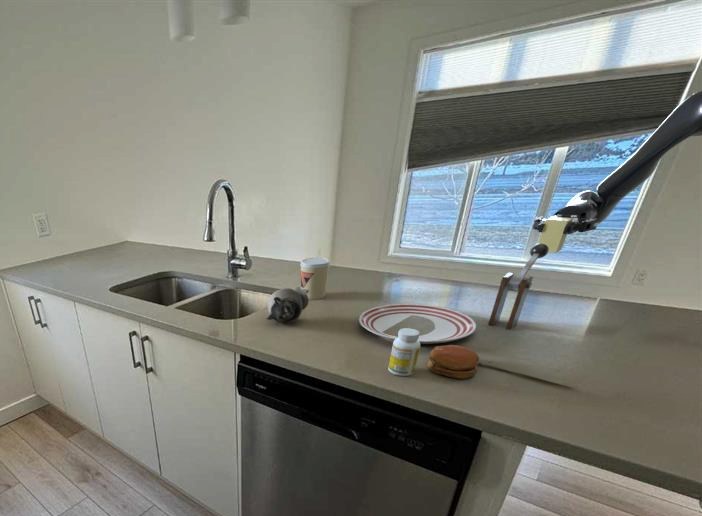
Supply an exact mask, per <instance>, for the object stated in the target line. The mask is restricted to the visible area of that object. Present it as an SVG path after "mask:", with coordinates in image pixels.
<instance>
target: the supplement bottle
mask: <svg viewBox="0 0 702 516" xmlns="http://www.w3.org/2000/svg"><path fill="white" fill-rule="evenodd" d="M419 336H420V331H419V330H417V329H414V328H409V327H404V328H400V329H399V330H398V333H397V337H398V338H396V339H395V340H393V342H392V347H391V350H390V357H389V363H388V367H387V369H388V371H389V373H391V374H393V375H395V376H399V377H408V376H411V375H413V374H414V373H415V371H416V366H417V363H418V362H417V361H418V357H419V353H420V350H421V344H420V342H419V341H418V338H419Z"/></svg>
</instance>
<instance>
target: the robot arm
mask: <svg viewBox="0 0 702 516" xmlns="http://www.w3.org/2000/svg"><path fill="white" fill-rule="evenodd" d="M699 136H702V90H699V91H697V92H693V94H691V95H689V96H688V97H687V98H686V99H684V100H683V101H682V102H681V103H680V104H679V105H677V107H676V108H675V109H674V110H673V111H672V112H671V113H670V114H669V115H668V116H667V118H666V119H665V120H664V121H663V122H662V123H661V124H660V125H659V126H658V128H656V130H654V132H653V133H651V135H650V136H649V137H648V139H646V140H645V141H644V143H643V144H642V145H641V146H640V147H639V148H638V149H637V150H636V151H635V152H634V153H633V154H632V155H631V156H630V157H629V158H628V159H627V160H625V162H624V163H622V164H621V165H620V166H619V167H618V168H616V169H615V170H614V171H613V172H611V174H610V175H608V176H607V177H606V178H605V179H604V180H602V181H601V182H600V183H599V184H598V185H597V187H596V192H595V191H594V190H593V191H592V190H584V191H582V192H579V193H578V194H576V195H575V196H574V197H572V198H571V199H570V201H568V202H567V204H566V206H563V207H562V208H559V209H558V210H557V211H555V213H554V214H553V215H552V216H548V217H547V218H544V216H541V215H536V216H534V220H533V223H532V230H534V231H535V230H536V231H538V233H542V230H543V227H544V224H545V221H546V220H547V219H549V218H551V217H563V218H573V220H572V222H571V223H569V224H567V225H566V226H565V228H564V231H563V234H567V235H572V234H574V233H577V232H578V233H586V232H590V231H594V230H597V227H598V225H599V224H601V223H602V222H604V221H605V220H606V219H607V218H608V217H609V216H610V215H611V213H612V212H613V211H614V209H615V208H616V207H617V205H619V204H620V202H621V201H622V200H623V199H624V198H625V197H627V196H628V195H629V194H630V193H631V192H633V191H634V190H636V189H637V188H638V187H639V186H641V185H642V184H644V183H645V182H646V181H647V180H648V179H649V178H650V177H651V176H652V175H653V174H654V172H655V171H656V169H657V167H658V165H659V163H660V161H661V159H662V158H663V157H664V156H665V155H666V154H667V153H668V152H669V151H670V150H672V149H673V148H675V147H676V146H677V145H680V144H681V143H682V142H684V141H686V140H687V139H689V138H692V137H699Z"/></svg>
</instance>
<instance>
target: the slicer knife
mask: <svg viewBox="0 0 702 516" xmlns="http://www.w3.org/2000/svg"><path fill="white" fill-rule="evenodd" d="M548 251H549V248H548V246H547V245H546V244H538V243H536V244H535V245H534V246H532V247H531V248H530V251H529V254H530V256H531V257H530V258H529V260H528V261H527V263H526V264H525V265H524V266H523V268H521V271H520V272H519V273H518V274H517V275H513V277H512V279H511V280H510V281H509V283H508V289H507V290H508V291H511V292H517V293H518V291H519V288H520V285H521V282H522V279H524V278H525V277H526V275H527V274H528V272H529V271H530V270H531V268H532V267H533V266H534V264H535V263H536V262H537V260H538V259H542V258H544V257H546V256H547V255H548V254H549V253H548Z"/></svg>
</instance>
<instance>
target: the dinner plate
mask: <svg viewBox="0 0 702 516" xmlns="http://www.w3.org/2000/svg"><path fill="white" fill-rule="evenodd" d="M411 316H416V317H421V318H424V319H428V320H430V322H432V323H433V325H434V329H433V330H432V331H430V332H429V333H425V334H422V335H419V338H418V341H419V342H420V345H433V344H442V343H450V342H454V341H455V342H456V341H458V340H461V339H464V338H467V337H469V336H470V335H472V334H473V333H475V331H476V329H477V323H476V322H475V320H473V318H472V317H470V316H468V315H466V314H465V313H463V312H461V311H458V310H455V309H451V308H448V307H442V306H436V305H429V304H420V303H395V304H385V305H379V306H376V307H373V308H370V309H367V310H365V311H363V313H361V314H360V316H359V317H358V322H359V324H360V326H361V327H362V328H364V329H365V330H367V331H369V332H371V333H372V334H374V335H376V336H379V337H382V338H384V339H388V340H391V341H394V340H395V339H396V338H398V335H391V334H388V333H386V332H385V331H386V330H389V329H390V328H392V327H394V326H395V325H397V324H399V323H400V322H403V321H404V320H406V319H407V318H409V317H411Z"/></svg>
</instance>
